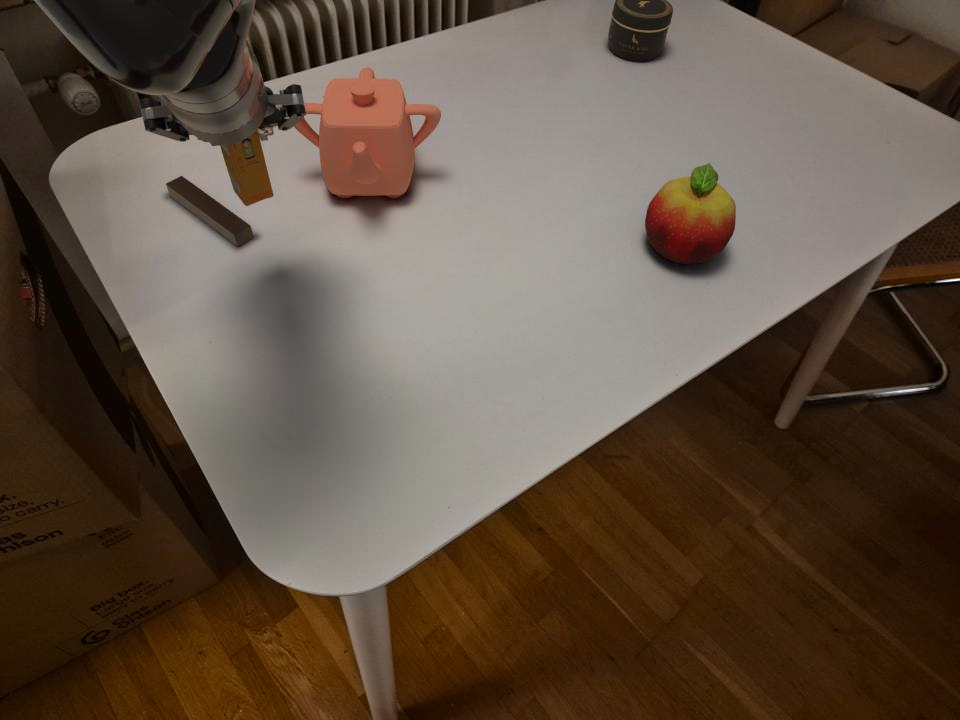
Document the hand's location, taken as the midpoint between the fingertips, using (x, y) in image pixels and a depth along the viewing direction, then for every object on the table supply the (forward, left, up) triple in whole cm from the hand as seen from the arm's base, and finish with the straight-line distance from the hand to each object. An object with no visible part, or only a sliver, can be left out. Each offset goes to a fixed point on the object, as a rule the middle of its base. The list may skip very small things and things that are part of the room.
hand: (238, 132), depth 67 cm
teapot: (+19, +3, -18) cm, 26 cm away
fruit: (+37, -35, -18) cm, 54 cm away
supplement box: (-1, -2, -6) cm, 7 cm away
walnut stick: (0, +12, -17) cm, 21 cm away
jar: (+77, -3, -18) cm, 79 cm away
